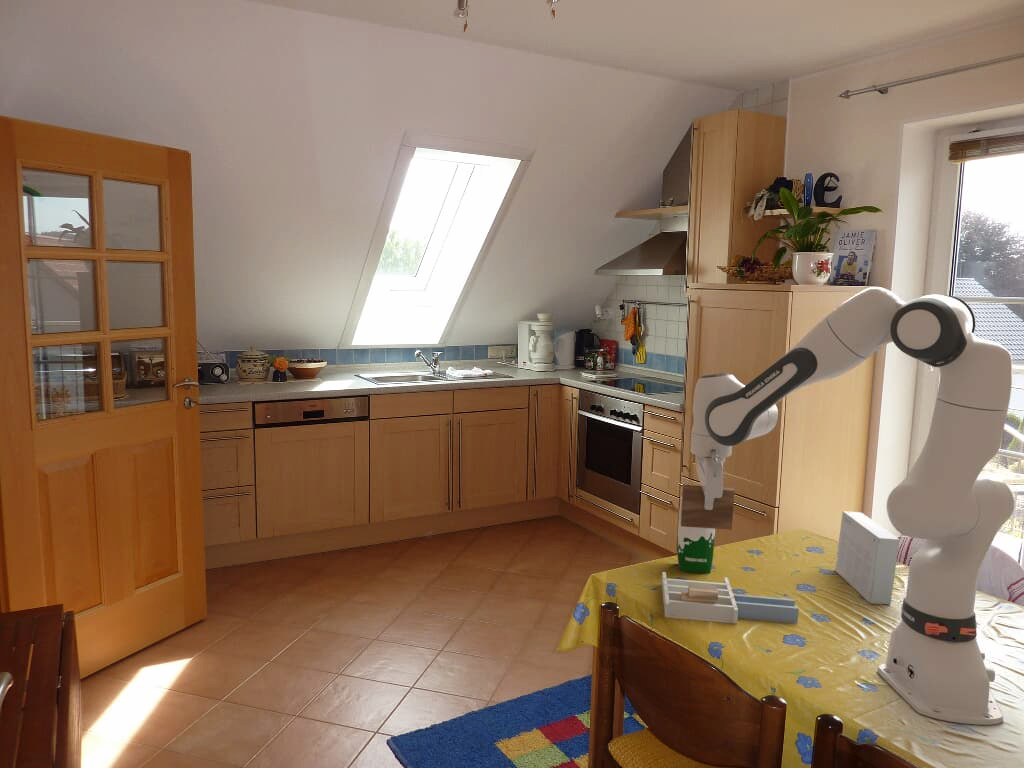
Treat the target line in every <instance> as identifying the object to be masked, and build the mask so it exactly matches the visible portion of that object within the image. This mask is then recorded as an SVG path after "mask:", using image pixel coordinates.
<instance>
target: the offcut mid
mask: <svg viewBox="0 0 1024 768" xmlns="http://www.w3.org/2000/svg"><path fill="white" fill-rule="evenodd" d="M681 601H686V602H697V603H708V604H715V600H704V599H693V598H689V595H688V593H687V592H681Z"/></svg>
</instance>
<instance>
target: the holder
mask: <svg viewBox="0 0 1024 768" xmlns="http://www.w3.org/2000/svg"><path fill="white" fill-rule="evenodd" d="M733 595H734V599H735V602H736V605H737V608H738V619H746V620H757V621H768V622H770V621H771V622H778V623H779V622H780V623H788V624H789V623H793V624H799V621H798V620H799V612H800V611H799V610H800V608H799V607H798V606H796V605H795V603H796V601H795V599H793V598H783V597H782V598H781V597H772V596H771V597H769V596H760V595H747V594H736V593H733Z"/></svg>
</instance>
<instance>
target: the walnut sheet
mask: <svg viewBox="0 0 1024 768" xmlns="http://www.w3.org/2000/svg"><path fill="white" fill-rule="evenodd" d="M681 492H682V495H681V497H682V507H681V526H683V527H698V528H712V529H715V530H727V531H729V530H730V531H731V530H733V518H734V517H733V515H734V505H735V503H734V502H735V501H734V500H735V489H734V487H725V486H723V492H722V497H721V498H714V502H713V509H712V510H706V509H705V508H704V500H705V495H704V492H703V489H702V487H701V485H694V484H693V485H690V484H689V485H688V484H683V485H682V491H681Z"/></svg>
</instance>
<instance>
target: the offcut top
mask: <svg viewBox="0 0 1024 768" xmlns="http://www.w3.org/2000/svg"><path fill="white" fill-rule="evenodd" d="M688 595H689V598H693V599H704V600H715V601H718V590H717V587H708V586H697V585H688Z"/></svg>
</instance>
